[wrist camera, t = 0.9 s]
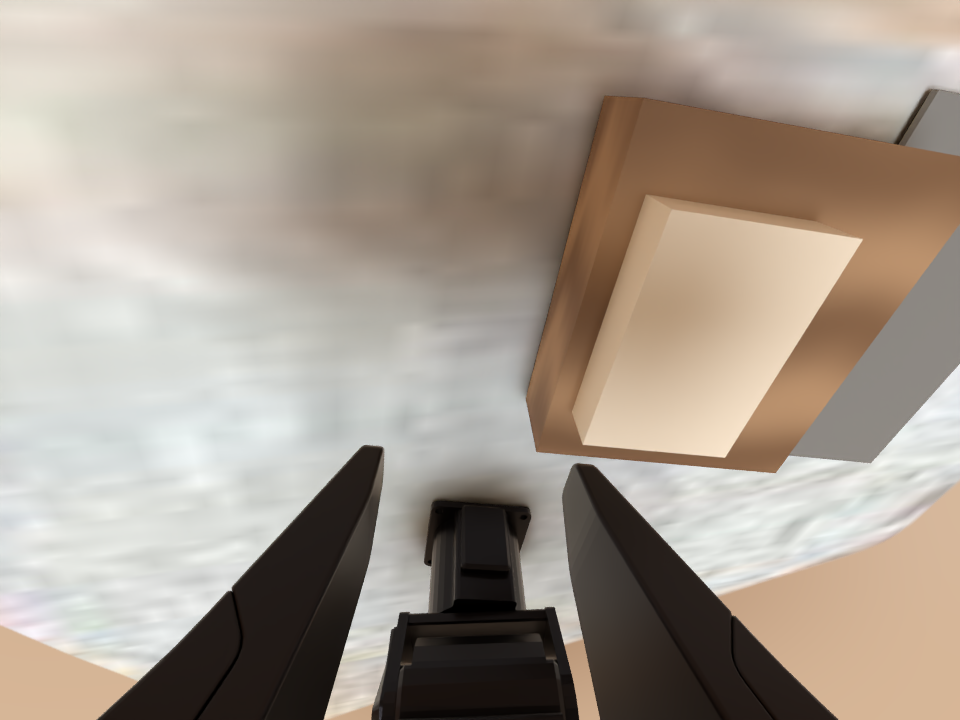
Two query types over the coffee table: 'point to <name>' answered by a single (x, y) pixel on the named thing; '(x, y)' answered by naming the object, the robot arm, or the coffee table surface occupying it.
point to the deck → (754, 187)
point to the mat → (900, 333)
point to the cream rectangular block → (702, 324)
